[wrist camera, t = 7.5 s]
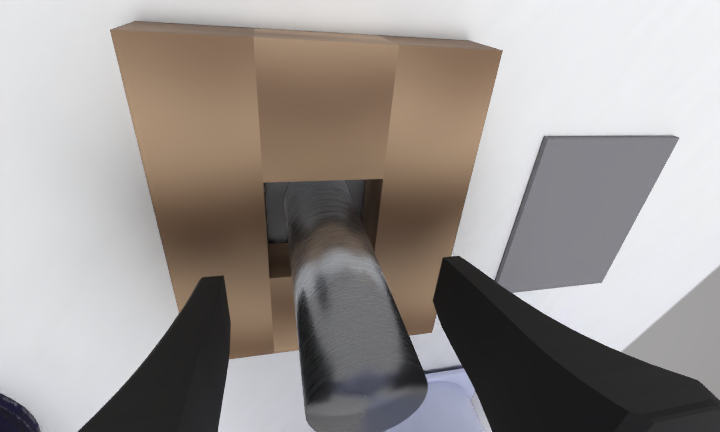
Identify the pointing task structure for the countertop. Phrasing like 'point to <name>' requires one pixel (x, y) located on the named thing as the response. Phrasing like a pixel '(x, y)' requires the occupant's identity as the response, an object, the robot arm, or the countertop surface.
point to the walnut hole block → (302, 153)
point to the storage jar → (15, 417)
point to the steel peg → (346, 318)
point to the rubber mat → (580, 208)
